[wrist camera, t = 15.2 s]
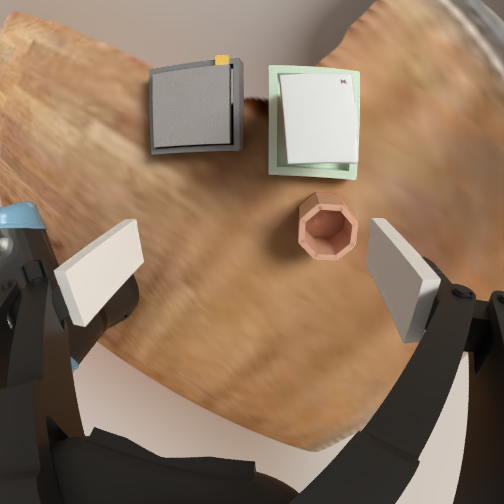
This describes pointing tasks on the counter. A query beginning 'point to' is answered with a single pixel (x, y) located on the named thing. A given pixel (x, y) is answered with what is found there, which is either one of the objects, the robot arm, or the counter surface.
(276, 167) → the mint green tray
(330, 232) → the cup
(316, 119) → the small box
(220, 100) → the grey flat square panel
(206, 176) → the counter surface
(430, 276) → the robot arm
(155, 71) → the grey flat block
